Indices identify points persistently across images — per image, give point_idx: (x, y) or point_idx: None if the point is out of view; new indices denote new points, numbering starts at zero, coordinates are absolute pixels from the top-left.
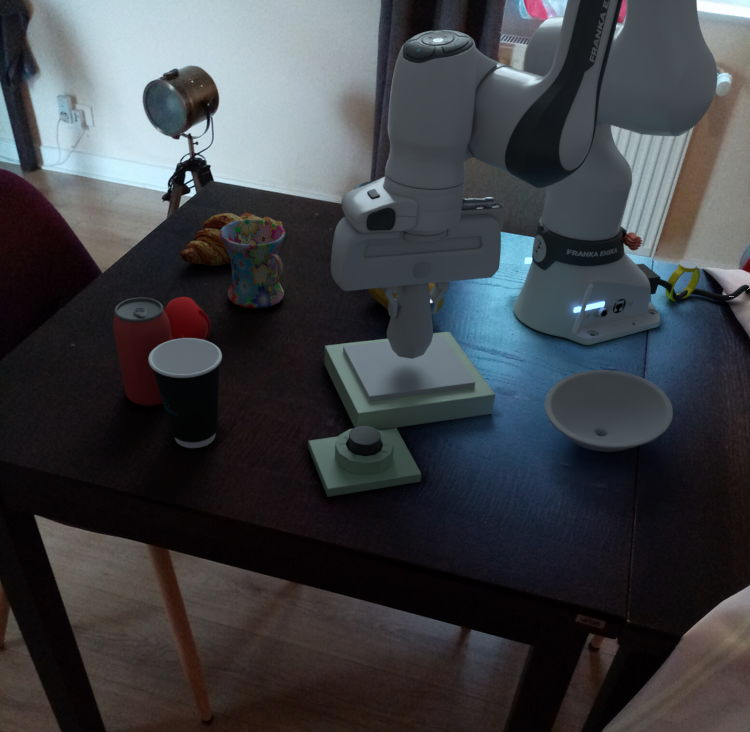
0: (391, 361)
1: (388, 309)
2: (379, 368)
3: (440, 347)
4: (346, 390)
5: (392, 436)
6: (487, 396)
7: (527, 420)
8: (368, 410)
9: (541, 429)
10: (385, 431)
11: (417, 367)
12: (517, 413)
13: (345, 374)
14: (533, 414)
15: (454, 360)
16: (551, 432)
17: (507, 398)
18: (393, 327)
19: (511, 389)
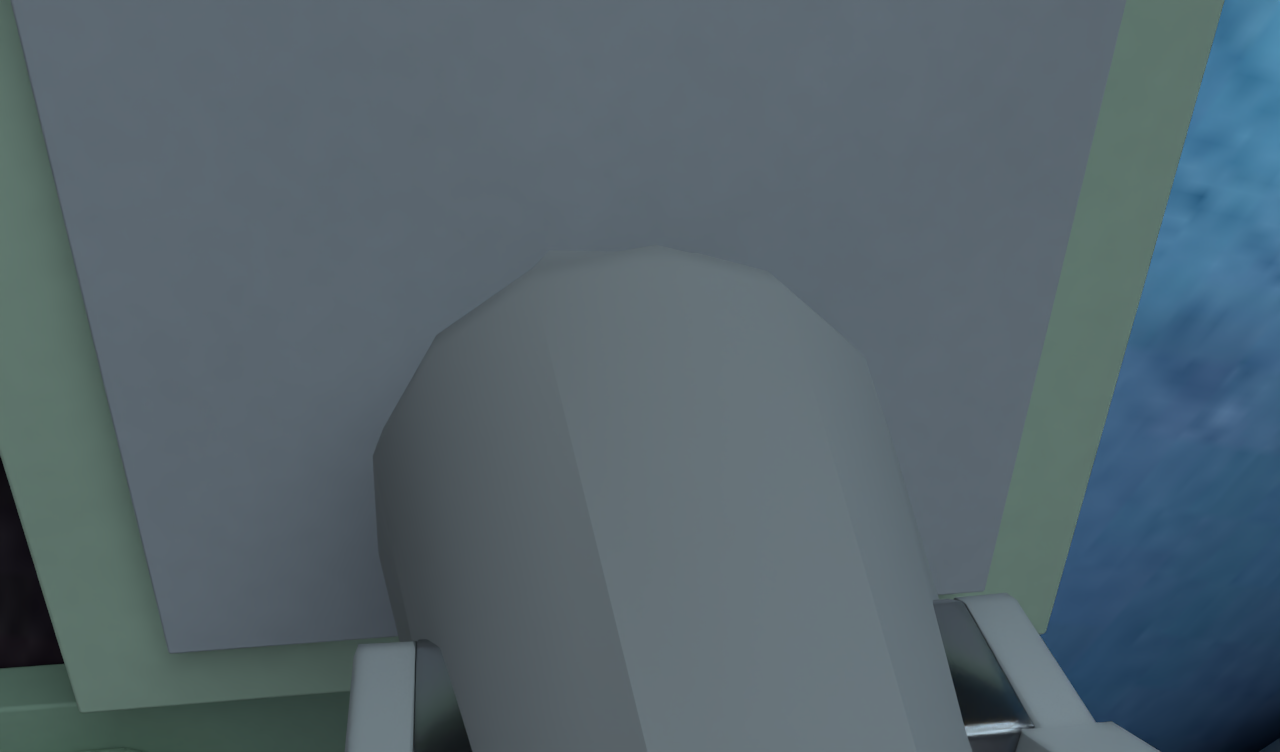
0: (465, 250)
1: (355, 676)
2: (324, 337)
3: (1011, 103)
4: (7, 470)
5: (312, 740)
6: None
7: (1125, 604)
8: (157, 700)
9: (1137, 669)
10: (279, 702)
11: None
12: (1119, 549)
13: (5, 272)
14: (1190, 566)
15: (1005, 325)
16: (1164, 691)
17: (1166, 420)
18: None
19: (1254, 341)
